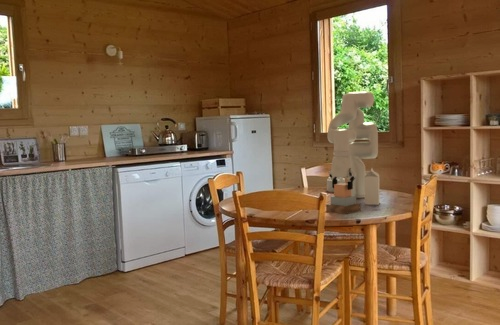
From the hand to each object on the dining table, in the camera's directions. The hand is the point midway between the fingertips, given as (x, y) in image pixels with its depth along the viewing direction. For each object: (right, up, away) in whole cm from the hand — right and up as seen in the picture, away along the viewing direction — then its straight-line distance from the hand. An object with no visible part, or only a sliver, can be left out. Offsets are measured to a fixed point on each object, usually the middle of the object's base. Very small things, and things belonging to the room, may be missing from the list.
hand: (342, 188), depth 240 cm
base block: (+1, -12, +1) cm, 12 cm away
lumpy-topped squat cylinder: (+8, -5, +64) cm, 65 cm away
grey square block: (+1, -8, +1) cm, 8 cm away
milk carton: (+19, -9, +16) cm, 26 cm away
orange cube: (0, -4, 0) cm, 4 cm away
